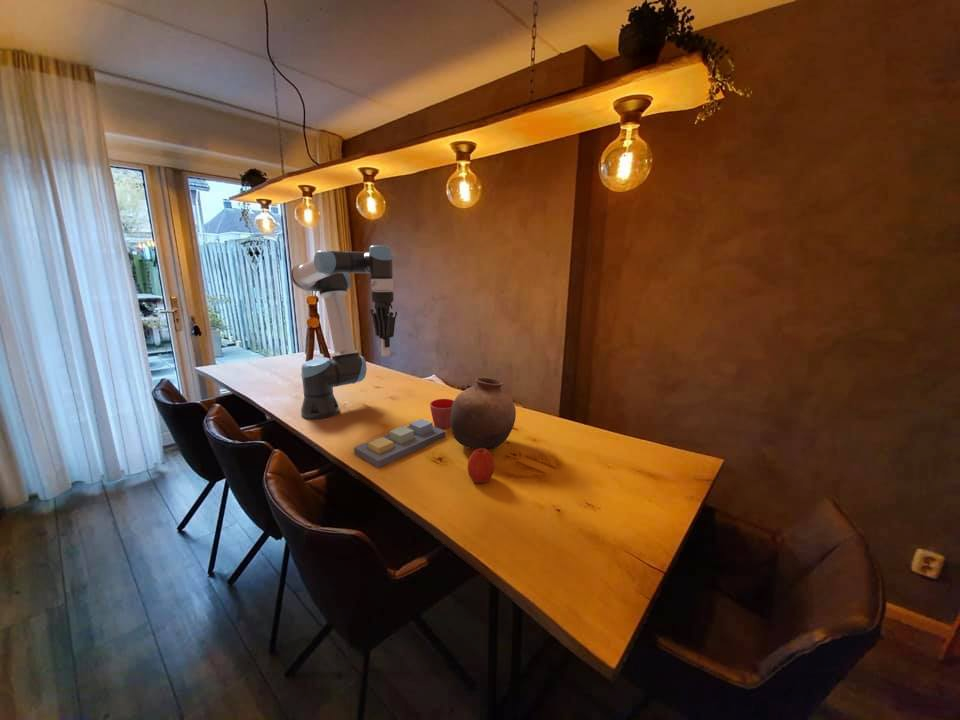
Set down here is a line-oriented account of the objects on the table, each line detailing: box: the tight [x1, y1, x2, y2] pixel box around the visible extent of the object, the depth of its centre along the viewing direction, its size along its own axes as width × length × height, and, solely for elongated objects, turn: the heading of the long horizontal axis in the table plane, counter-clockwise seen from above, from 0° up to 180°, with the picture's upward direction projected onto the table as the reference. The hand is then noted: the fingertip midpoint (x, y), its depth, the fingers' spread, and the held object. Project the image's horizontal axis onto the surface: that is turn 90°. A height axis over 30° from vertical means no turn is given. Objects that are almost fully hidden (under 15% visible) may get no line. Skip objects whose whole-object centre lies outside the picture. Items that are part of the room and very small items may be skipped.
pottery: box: [450, 377, 517, 451], centre depth 134 cm, size 23×23×25 cm
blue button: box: [409, 418, 433, 436], centre depth 143 cm, size 6×6×4 cm
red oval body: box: [467, 448, 496, 484], centre depth 114 cm, size 8×8×11 cm
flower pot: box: [429, 398, 455, 430], centre depth 153 cm, size 11×11×10 cm
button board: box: [353, 425, 447, 469], centre depth 136 cm, size 14×30×2 cm, turn 140°
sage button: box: [389, 425, 414, 445], centre depth 136 cm, size 6×6×4 cm
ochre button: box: [367, 436, 394, 454], centre depth 129 cm, size 6×6×4 cm
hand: (385, 355), depth 140 cm, fingers closed
